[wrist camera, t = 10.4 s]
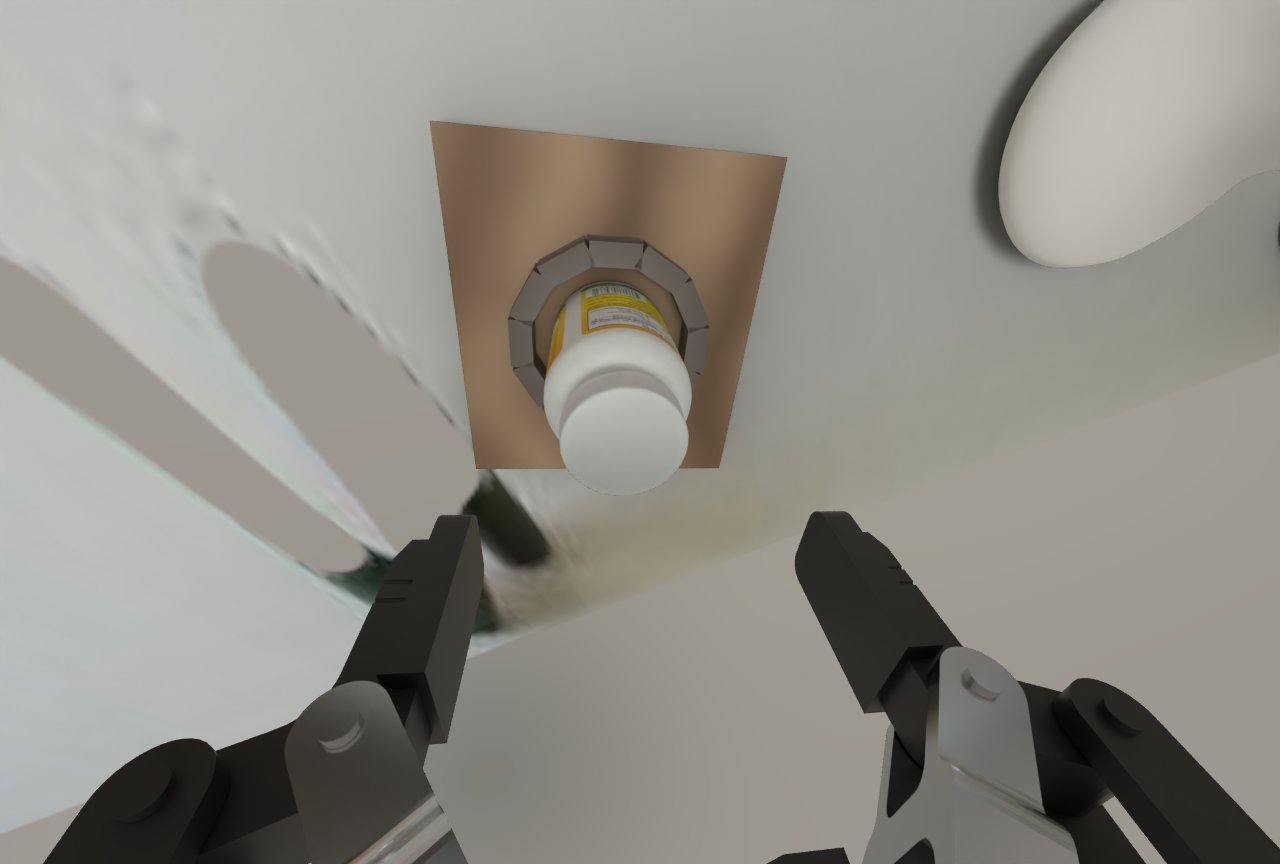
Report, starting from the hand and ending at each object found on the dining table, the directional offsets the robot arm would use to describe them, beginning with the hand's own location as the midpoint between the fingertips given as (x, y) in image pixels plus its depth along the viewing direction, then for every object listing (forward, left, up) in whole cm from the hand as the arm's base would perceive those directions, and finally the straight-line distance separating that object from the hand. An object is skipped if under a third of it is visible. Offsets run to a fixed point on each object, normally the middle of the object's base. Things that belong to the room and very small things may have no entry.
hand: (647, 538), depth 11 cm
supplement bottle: (0, 0, -13) cm, 13 cm away
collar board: (0, 0, -15) cm, 15 cm away
